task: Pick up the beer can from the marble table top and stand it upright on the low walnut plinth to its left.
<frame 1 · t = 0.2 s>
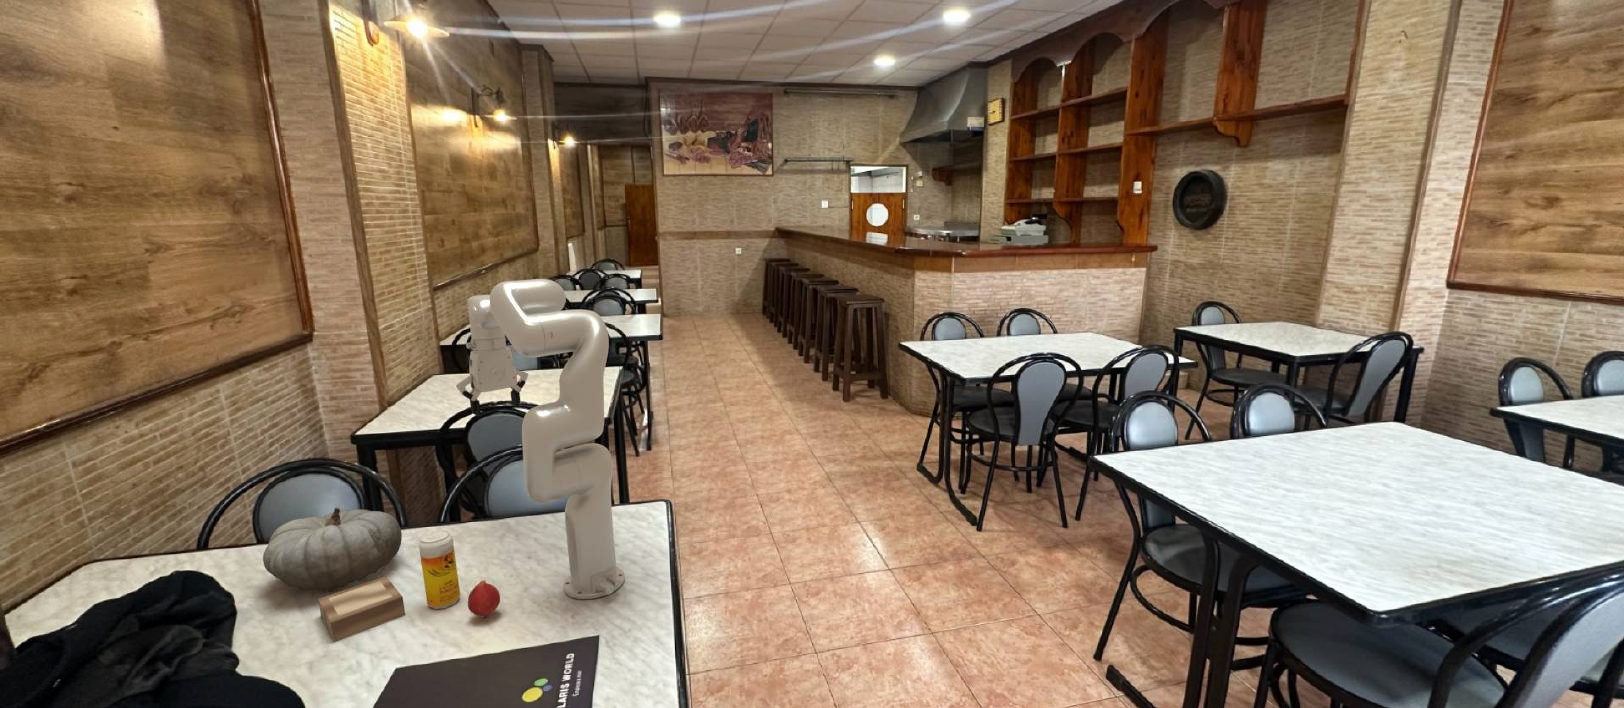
hand: (496, 410, 169), 31 cm above the table, fingers open, 9 cm apart
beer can: (444, 603, 139), on the table
walnut plinth: (363, 615, 135), on the table
onion: (486, 617, 134), on the table
gourd: (338, 578, 150), on the table
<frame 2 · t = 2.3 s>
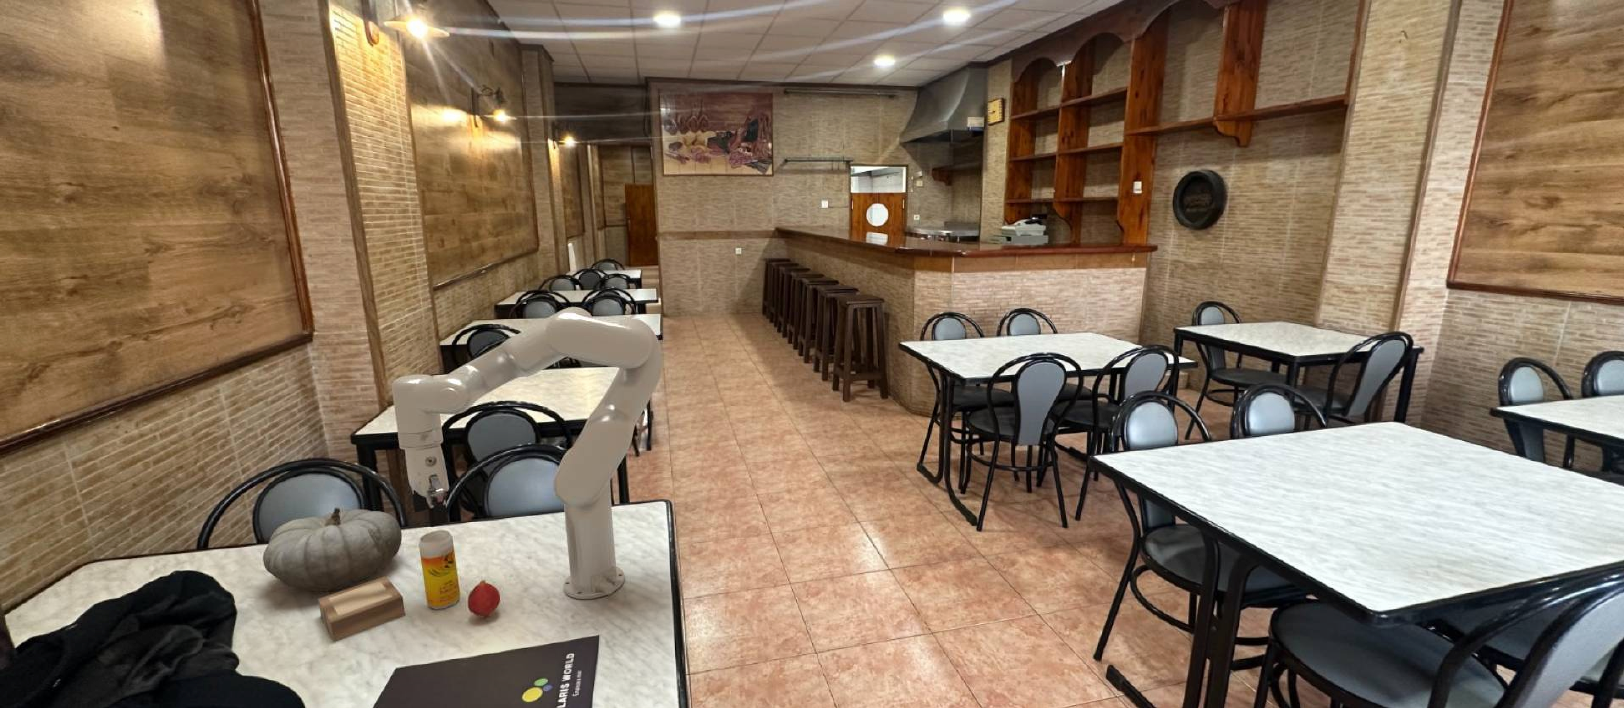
hand: (430, 517, 135), 19 cm above the table, fingers open, 9 cm apart
nothing on the table moved.
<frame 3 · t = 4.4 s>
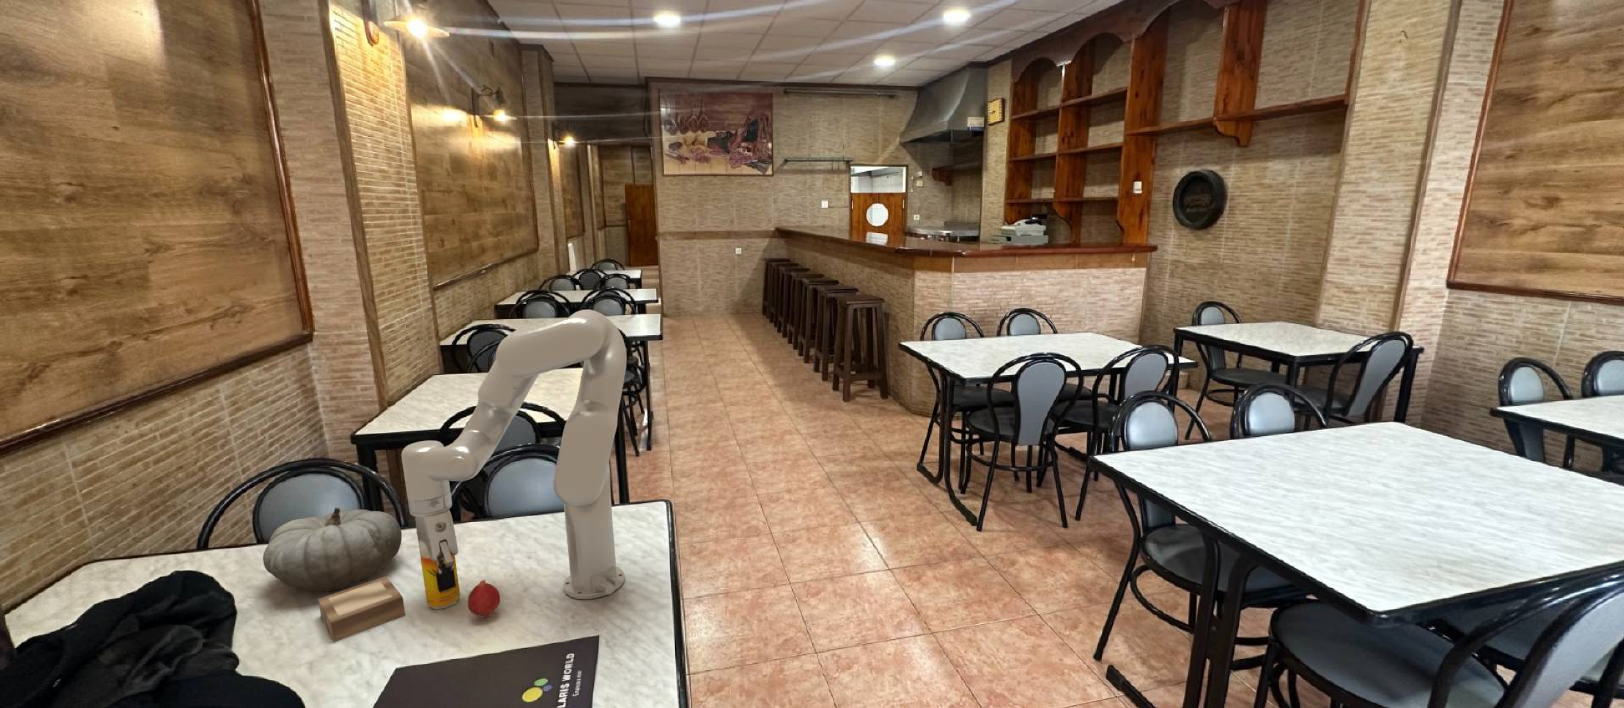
hand: (441, 582, 138), 5 cm above the table, fingers closed on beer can, 6 cm apart
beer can: (444, 603, 139), on the table, touching gripper
everything else where it was.
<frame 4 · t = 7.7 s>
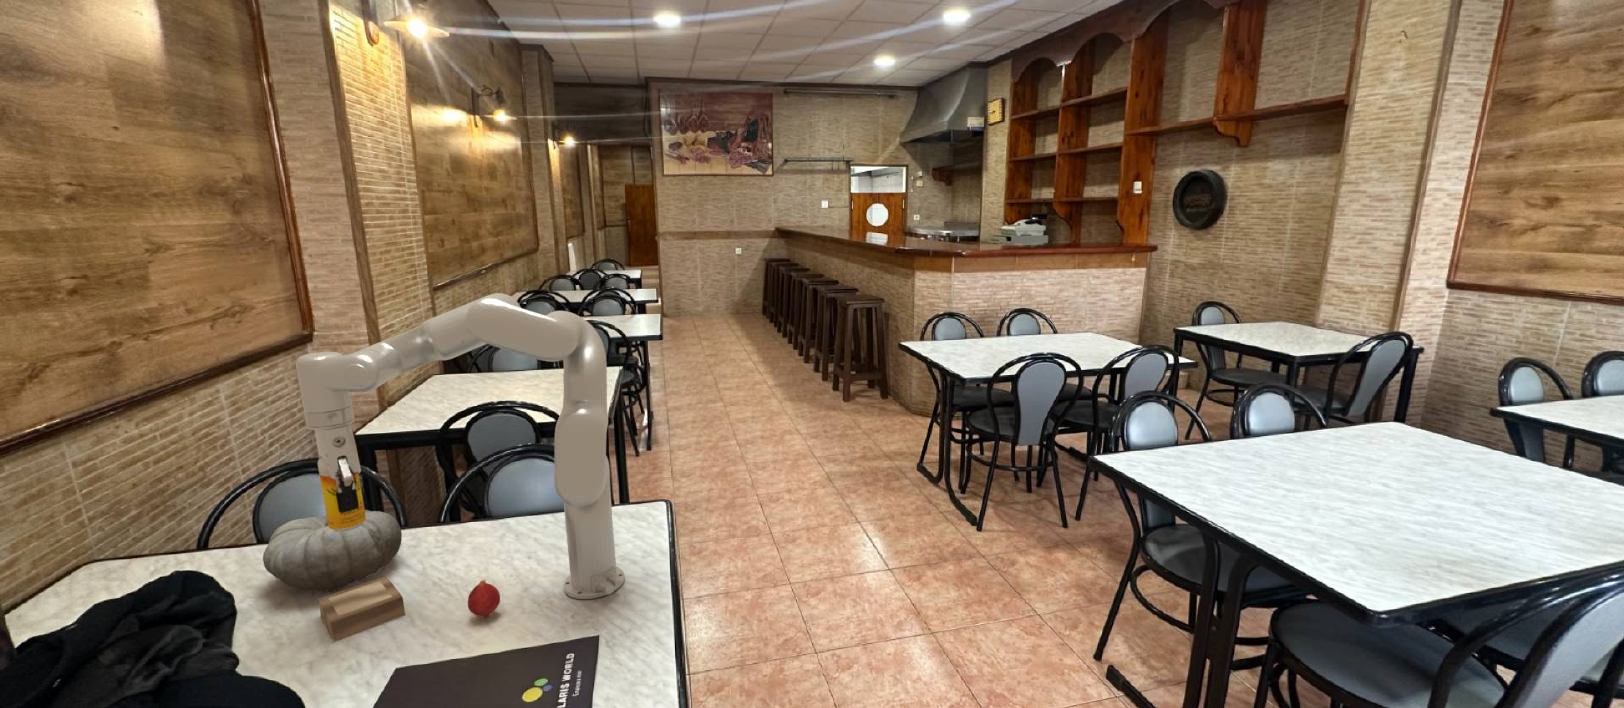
hand: (344, 504, 130), 24 cm above the table, fingers closed on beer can, 6 cm apart
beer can: (348, 527, 131), point 19 cm above the table, touching gripper
everything else where it was.
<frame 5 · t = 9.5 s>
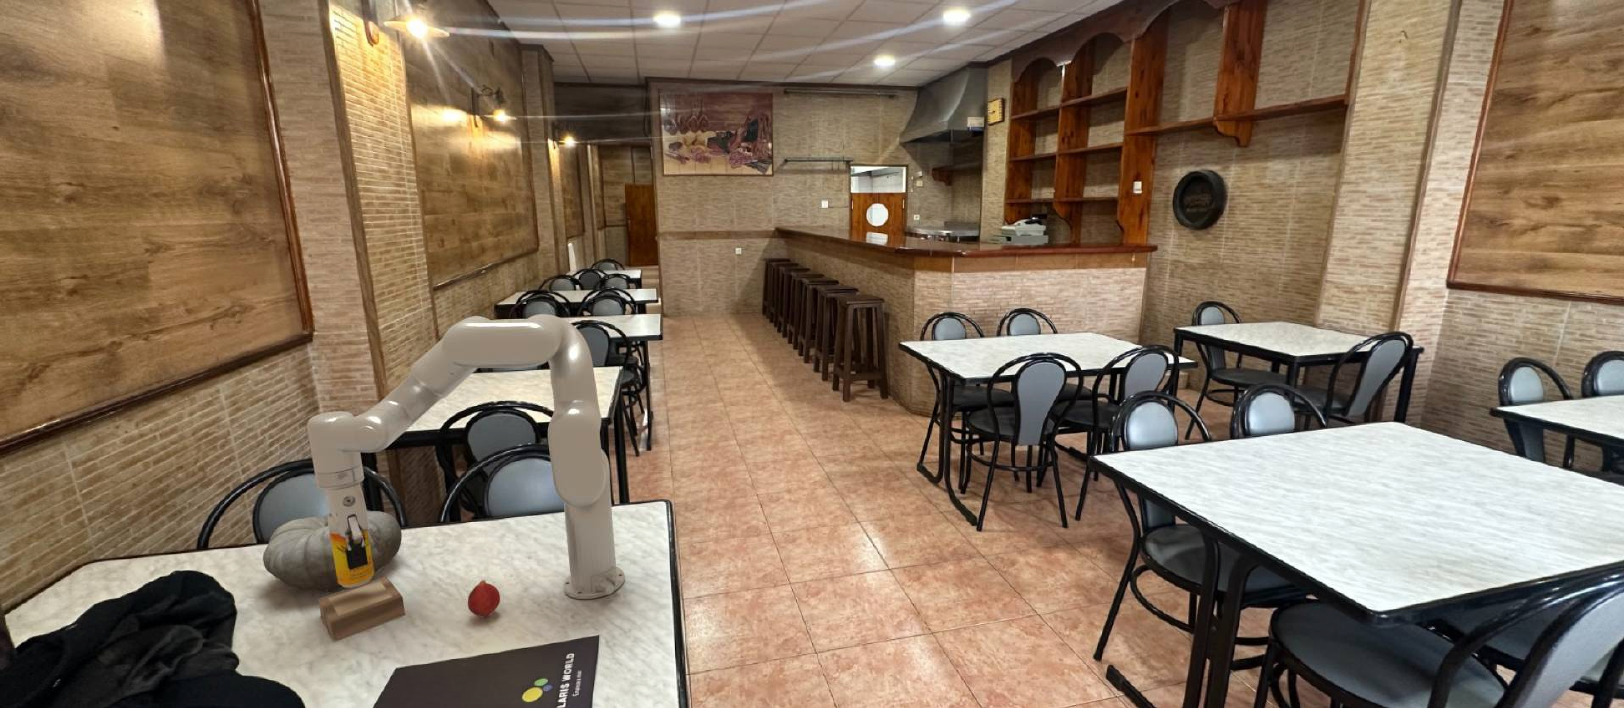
hand: (353, 559, 132), 12 cm above the table, fingers closed on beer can, 6 cm apart
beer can: (357, 581, 133), point 8 cm above the table, touching gripper
everything else where it was.
when the fingers open (9 cm above the table, at t = 11.1 s): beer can stays where it is, resting on walnut plinth.
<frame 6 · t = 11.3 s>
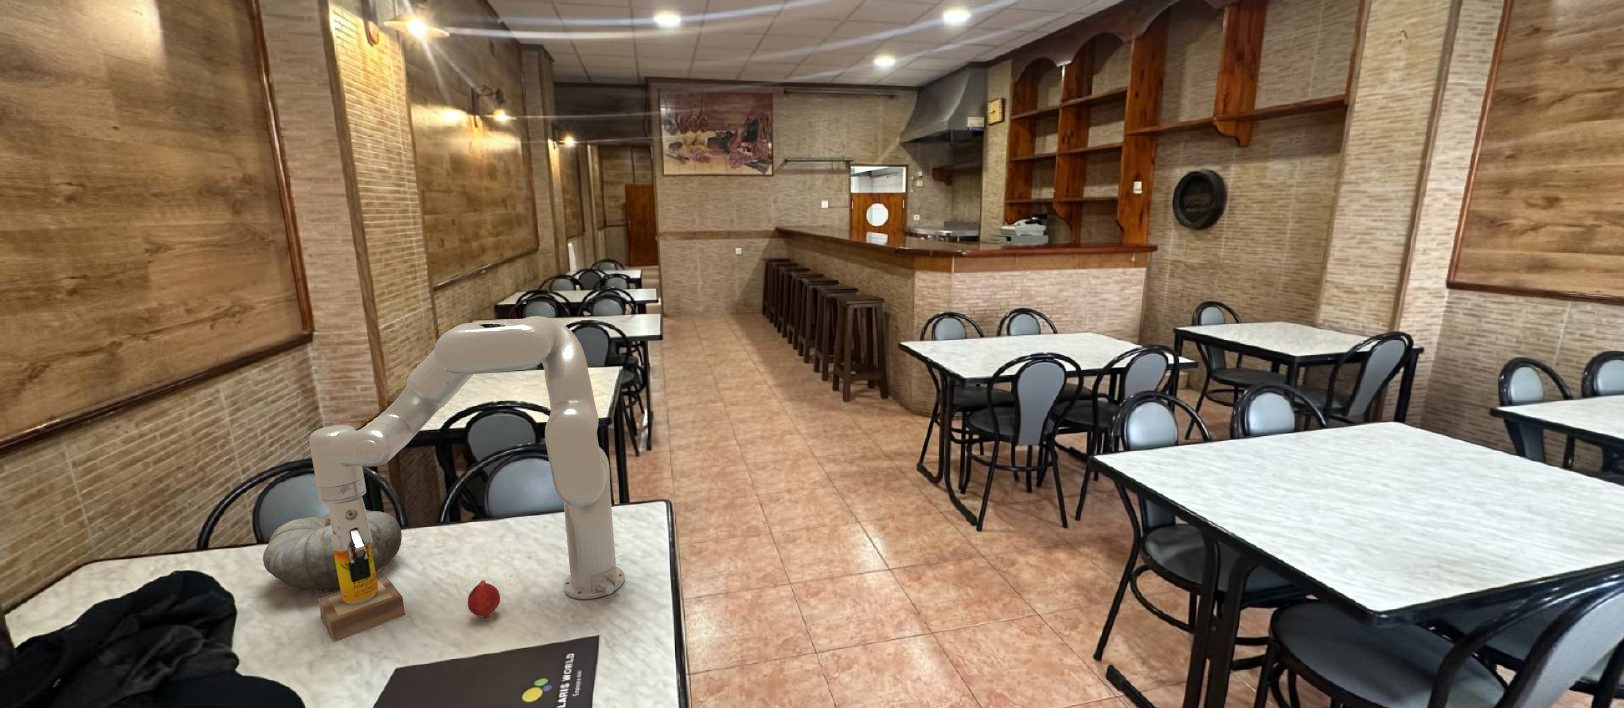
hand: (355, 571, 133), 10 cm above the table, fingers open, 7 cm apart
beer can: (361, 598, 134), point 4 cm above the table, touching walnut plinth
everything else where it was.
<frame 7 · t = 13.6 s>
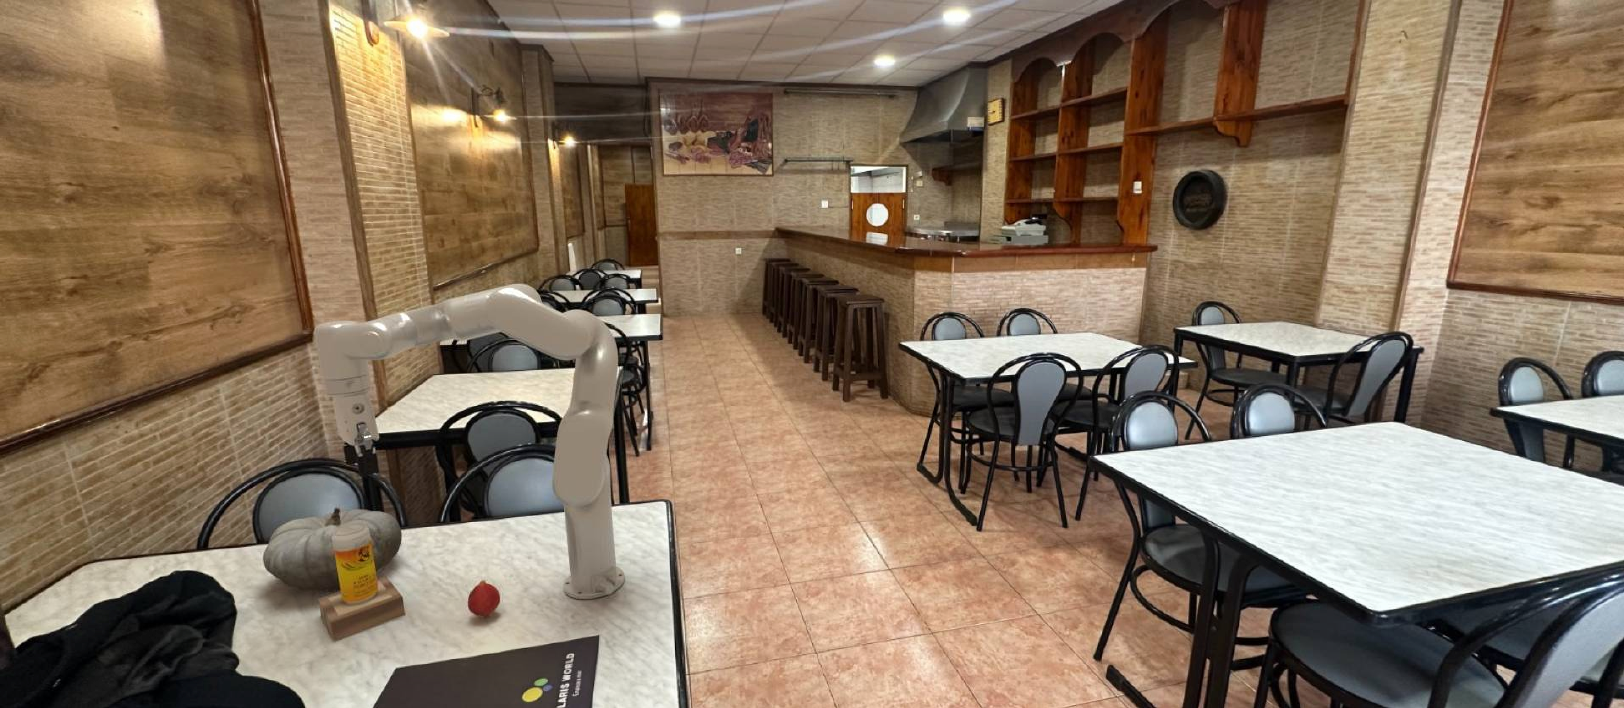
hand: (362, 468, 132), 30 cm above the table, fingers open, 9 cm apart
nothing on the table moved.
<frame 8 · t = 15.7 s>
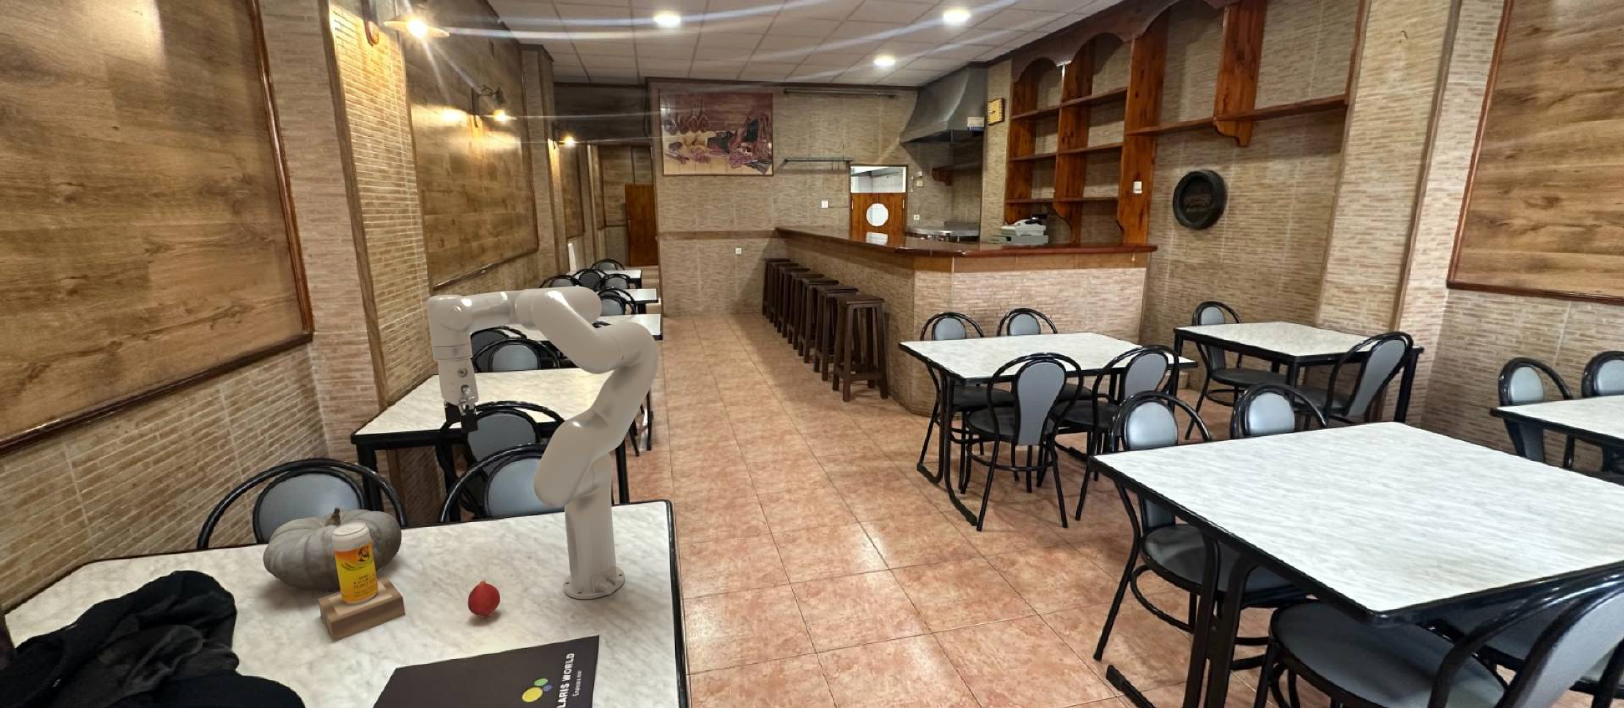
hand: (462, 427, 148), 33 cm above the table, fingers open, 9 cm apart
nothing on the table moved.
at the end: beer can 0.2 cm from the walnut plinth (horizontally); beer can point 3.9 cm above the table; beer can tilted 0° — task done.
